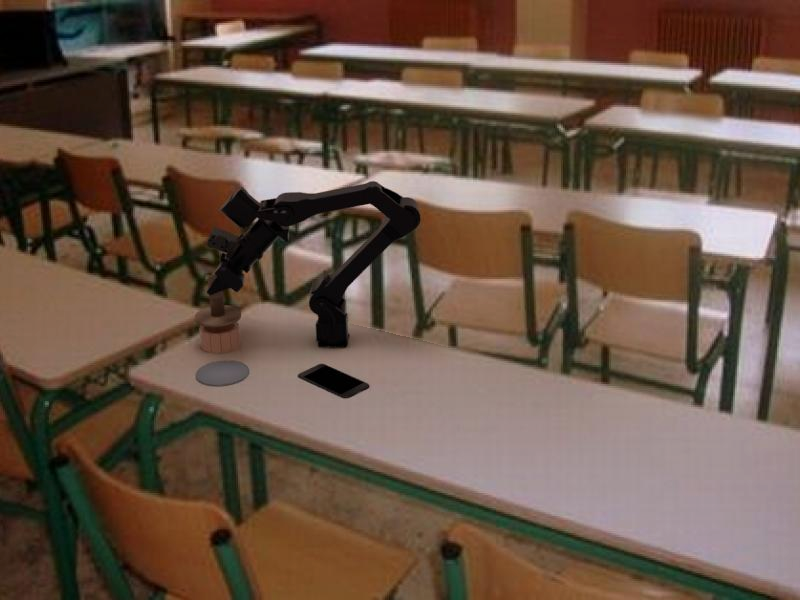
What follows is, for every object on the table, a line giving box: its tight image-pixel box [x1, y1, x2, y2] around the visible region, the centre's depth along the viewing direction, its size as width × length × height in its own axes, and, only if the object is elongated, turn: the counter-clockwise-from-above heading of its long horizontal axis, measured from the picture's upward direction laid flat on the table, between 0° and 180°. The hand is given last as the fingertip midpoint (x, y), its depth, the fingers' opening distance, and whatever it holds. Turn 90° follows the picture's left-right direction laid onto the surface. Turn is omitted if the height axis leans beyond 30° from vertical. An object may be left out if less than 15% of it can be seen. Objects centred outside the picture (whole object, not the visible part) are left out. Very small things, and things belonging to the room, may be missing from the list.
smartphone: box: [297, 363, 370, 399], centre depth 196 cm, size 7×15×1 cm, turn 47°
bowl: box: [198, 321, 242, 354], centre depth 212 cm, size 8×8×4 cm
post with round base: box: [194, 274, 242, 327], centre depth 208 cm, size 10×10×10 cm
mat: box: [195, 359, 250, 387], centre depth 200 cm, size 11×11×1 cm
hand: (209, 290), depth 208 cm, fingers closed on post with round base, 3 cm apart
